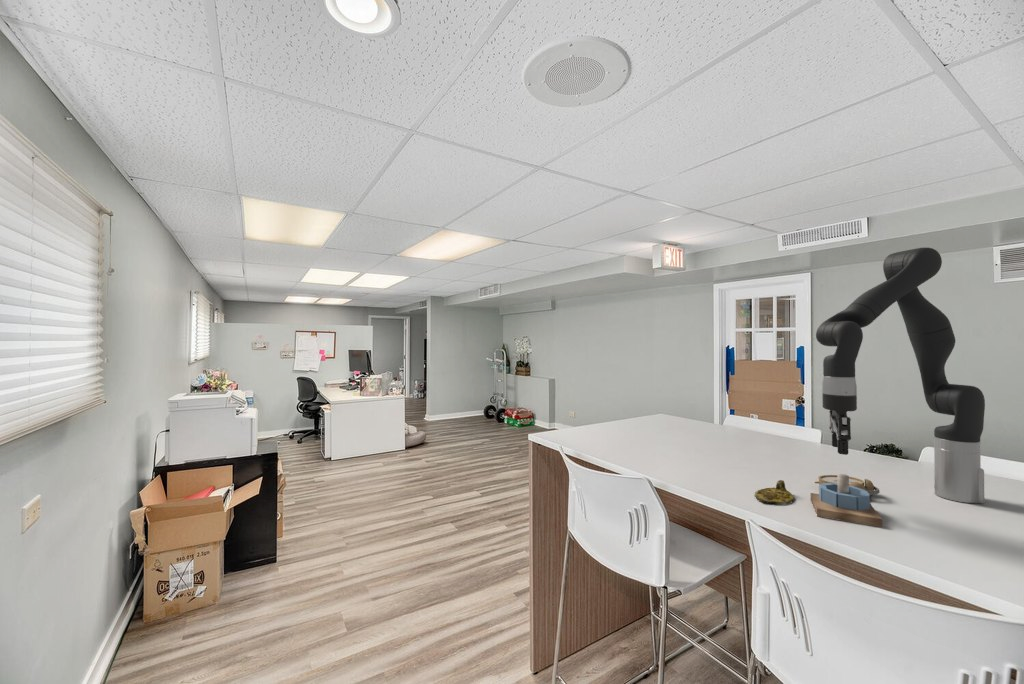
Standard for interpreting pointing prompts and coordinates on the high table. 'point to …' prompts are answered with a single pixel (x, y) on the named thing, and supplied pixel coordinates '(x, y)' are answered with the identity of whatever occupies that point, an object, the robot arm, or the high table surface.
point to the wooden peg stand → (845, 514)
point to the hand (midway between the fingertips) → (839, 450)
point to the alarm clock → (851, 483)
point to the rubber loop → (844, 497)
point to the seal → (775, 495)
